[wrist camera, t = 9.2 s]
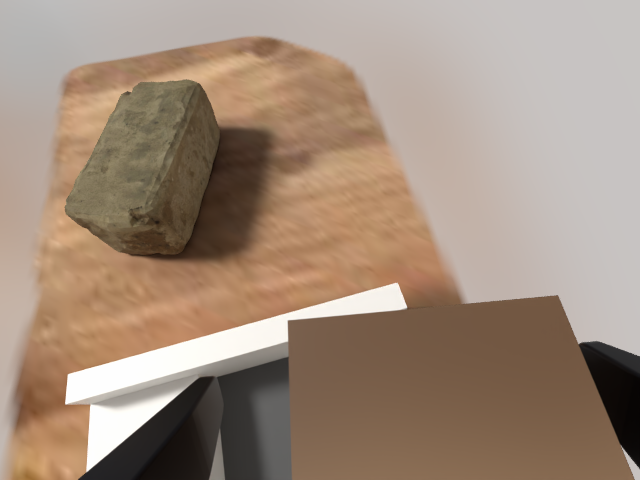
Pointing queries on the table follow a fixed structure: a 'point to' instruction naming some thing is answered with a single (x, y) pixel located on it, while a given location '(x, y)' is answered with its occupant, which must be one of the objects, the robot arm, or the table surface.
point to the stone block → (148, 169)
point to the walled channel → (235, 384)
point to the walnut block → (447, 396)
